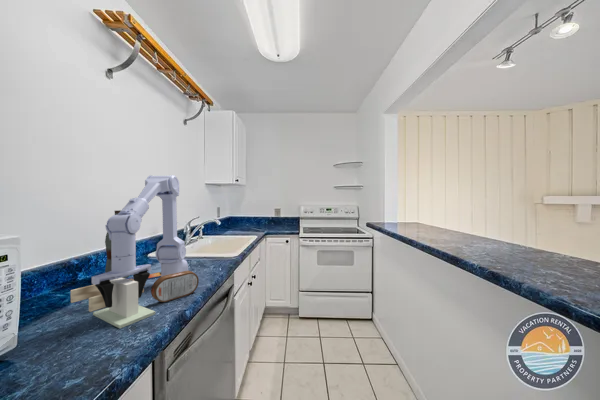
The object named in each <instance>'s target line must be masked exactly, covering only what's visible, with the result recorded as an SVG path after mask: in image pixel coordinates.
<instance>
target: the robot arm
mask: <svg viewBox="0 0 600 400" xmlns="http://www.w3.org/2000/svg"><path fill="white" fill-rule="evenodd" d="M155 196H156V197H159V198H160V199H161V200H162V201H161V203H162V211H161V212H162V239H161V240H160V241H158V243H156V250H155V258H156V260H157V261H158V263H159V264H160V272H161V277H162V276H165V275H169V274H174V273H178V272H183V271H189V265H188V261H187V259H185V257H186V254H187V249H186V246H185V245H186V244H185V240H183V239H182V238H179V237H178V213H177V212H178V211H177V204H178V203H177V197H179V196H180V181H179V179H178V177H177V176H176V175H174V174H170V175H151V174H150V175H148V176H147V178H146V179H145V180H144V188H143V189H142V191H141V192H140V193H139V194H138V196H137V197H132V198H130V199H129V200H128V202H127V203H126V205H125V206H124V207H123V208H122V209H120V210H121V211H120V212H119V214H118V215H115V214H113V215H112V216H111V217H109V218H108V220H107V221H106V224H105V230H106V233H107V232H108V233H109V239H110V240H111V256H112V257H111V259H112V271H110V272H107V273H105V272H104V273H101V274H98V275H97V274H96V275H94V276H91V285H95V286H96V287H97V288H98V290H99V291H100V293H101V295H102V297H103V299H104V302H105V307H104V308H110V307H112V292H113V286H114V284H113V283H111V282H110V280H114V279H118V278H122V277H126V276H128V277H129V276H132V277H134V281H137V282H138V299H140V298H142V295H143V293H142V291H143V289H144V288H145V286H146V283H147V281H148V280H147V279H148V278H149V276H150V274H151V271H152V264H150V263H149V264H148V263H146V264H142V265H137V264H136V263H137V261H136V260H137V257H136V256H137V254H136V253H137V251H136V249H137V248H136V246H137V245H136V241H137V240H136V234H137V232H138V231H139V230H140V228H141V223H142V220H143V219H142V218H143V217H144V216H145V214H146V213H147V212H148V211H149V208H150V205H149V203H150V202H151V201H152V200H153V199H154V198H155ZM126 278H127V277H126ZM144 285H145V286H144Z"/></svg>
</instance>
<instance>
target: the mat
mask: <svg viewBox="0 0 600 400" xmlns="http://www.w3.org/2000/svg"><path fill="white" fill-rule="evenodd" d="M154 315H156V311H155V310H154V309H150V308H147V307H146V306H145V307H144V306H142V305H140V304H138V313H137V314H135V315H132V316H130V317H124V316H122V315H119V314H117V313H114V312H112V311H109V308H108V307H104V308H101V309H98V310H95V311H92V316H94V317H96V318H98V319H100V320H101V321H104V322H106V323H108V324H110V325H112V326H114V327H116V328H118V329H122V328H124V327H127V326H130V325H133V324H135V323H137V322H140V321H142V320H145V319H147V318H149V317H152V316H154Z"/></svg>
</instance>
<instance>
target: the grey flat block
mask: <svg viewBox="0 0 600 400" xmlns="http://www.w3.org/2000/svg"><path fill="white" fill-rule="evenodd" d="M110 282H111V283H113V284H114V286H113V292H112V307H110V308H109V311H112V312H114V313H117V314H119V315H122V316H124V317H130V316H132V315H135V314H137V313H138V305H139V298H138V282H137V281H133V280H129V279H125V278H118V279H114V280H110Z"/></svg>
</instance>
